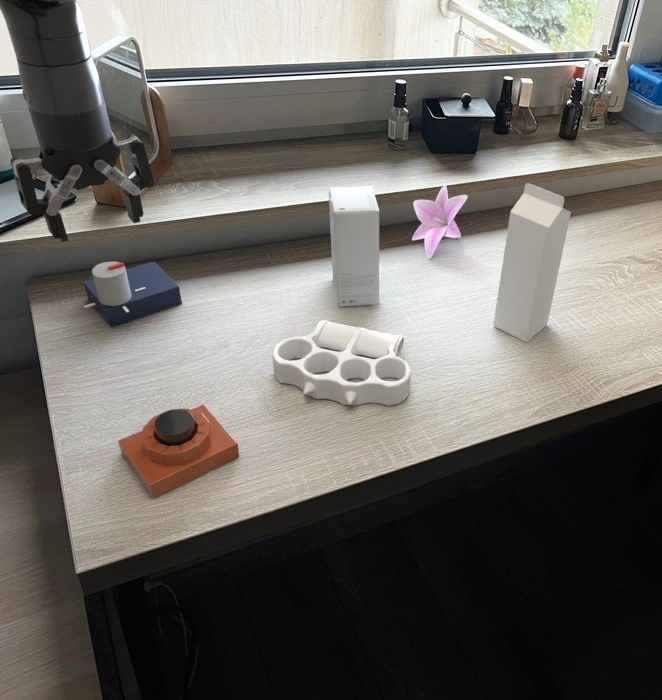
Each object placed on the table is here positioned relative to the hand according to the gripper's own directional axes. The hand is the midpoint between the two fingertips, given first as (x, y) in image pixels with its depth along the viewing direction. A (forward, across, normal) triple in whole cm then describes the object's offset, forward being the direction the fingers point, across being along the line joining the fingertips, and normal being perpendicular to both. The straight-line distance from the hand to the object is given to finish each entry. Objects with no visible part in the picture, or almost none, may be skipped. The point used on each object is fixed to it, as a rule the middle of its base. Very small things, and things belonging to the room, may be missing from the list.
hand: (99, 229), depth 88 cm
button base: (+15, -4, -26) cm, 30 cm away
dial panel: (+15, +2, +4) cm, 16 cm away
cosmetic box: (+16, +31, -10) cm, 36 cm away
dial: (+12, 0, +3) cm, 12 cm away
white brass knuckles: (+15, +19, -25) cm, 35 cm away
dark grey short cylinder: (+11, -4, -26) cm, 29 cm away
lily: (+16, +50, -5) cm, 53 cm away
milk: (+16, +46, -30) cm, 57 cm away
